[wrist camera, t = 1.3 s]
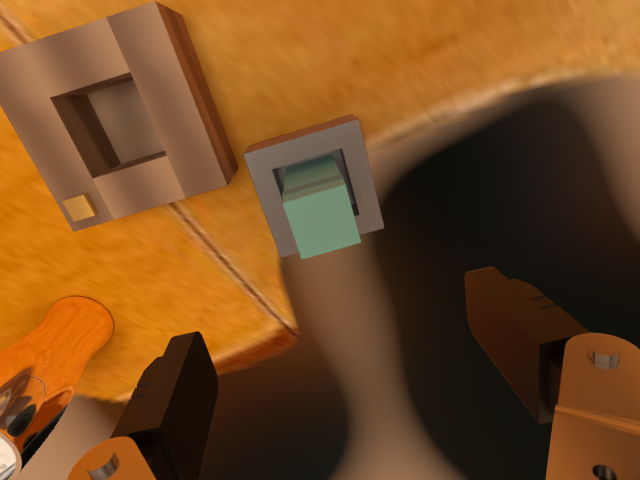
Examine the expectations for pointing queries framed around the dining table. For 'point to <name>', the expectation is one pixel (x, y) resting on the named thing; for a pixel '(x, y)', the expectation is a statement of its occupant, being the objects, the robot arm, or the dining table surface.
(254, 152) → the grey square frame
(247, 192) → the dining table surface
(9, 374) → the beer glass
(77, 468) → the robot arm
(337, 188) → the plug
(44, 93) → the port
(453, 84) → the dining table surface
